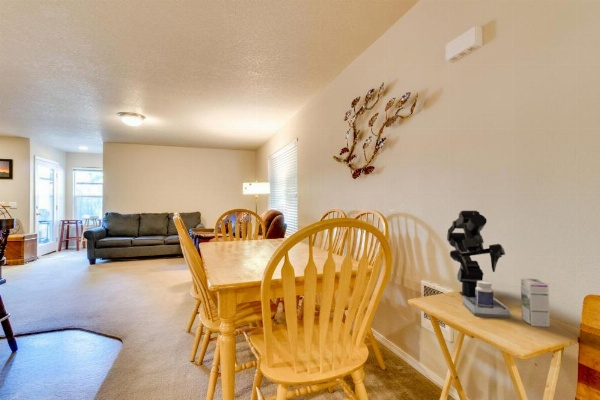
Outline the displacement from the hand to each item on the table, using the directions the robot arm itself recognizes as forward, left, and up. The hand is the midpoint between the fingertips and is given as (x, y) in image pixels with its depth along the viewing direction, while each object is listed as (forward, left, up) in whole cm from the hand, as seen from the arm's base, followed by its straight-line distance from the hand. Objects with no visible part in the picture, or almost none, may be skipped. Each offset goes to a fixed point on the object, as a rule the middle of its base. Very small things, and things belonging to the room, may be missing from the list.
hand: (480, 273), depth 112 cm
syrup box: (+13, +12, -14) cm, 22 cm away
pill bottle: (+4, 0, -13) cm, 13 cm away
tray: (+4, 0, -13) cm, 14 cm away
